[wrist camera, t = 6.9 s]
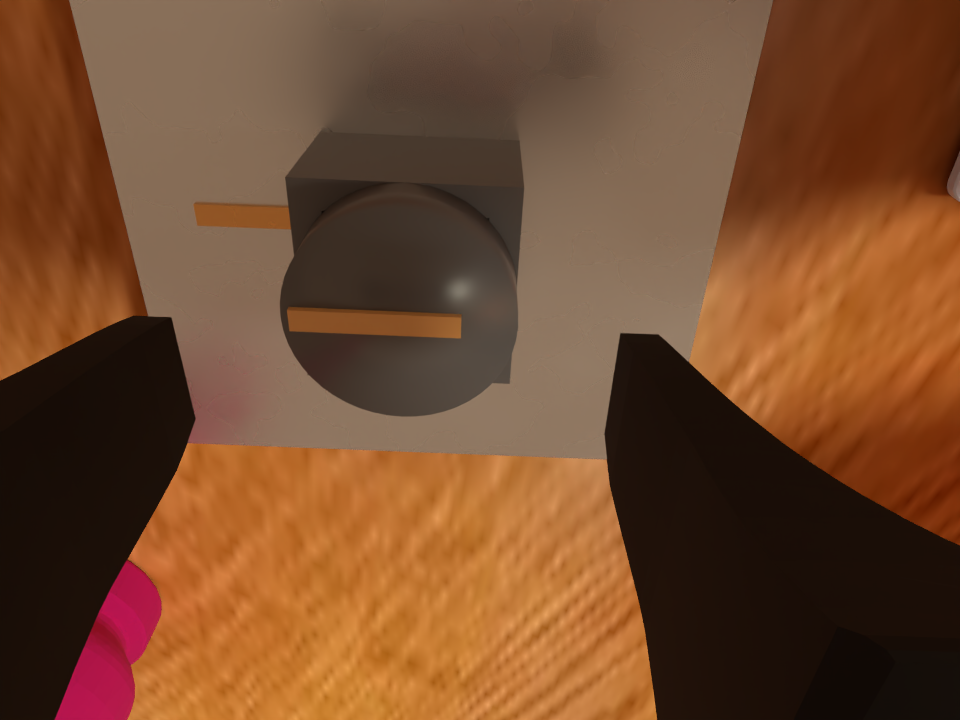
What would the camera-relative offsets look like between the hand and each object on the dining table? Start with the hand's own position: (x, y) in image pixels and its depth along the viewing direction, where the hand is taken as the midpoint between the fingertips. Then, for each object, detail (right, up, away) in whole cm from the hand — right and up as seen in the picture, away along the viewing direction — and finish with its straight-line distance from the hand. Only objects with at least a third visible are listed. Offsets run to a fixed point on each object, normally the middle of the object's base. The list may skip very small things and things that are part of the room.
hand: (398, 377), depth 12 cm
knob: (0, +4, +7) cm, 8 cm away
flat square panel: (0, +5, +8) cm, 9 cm away
